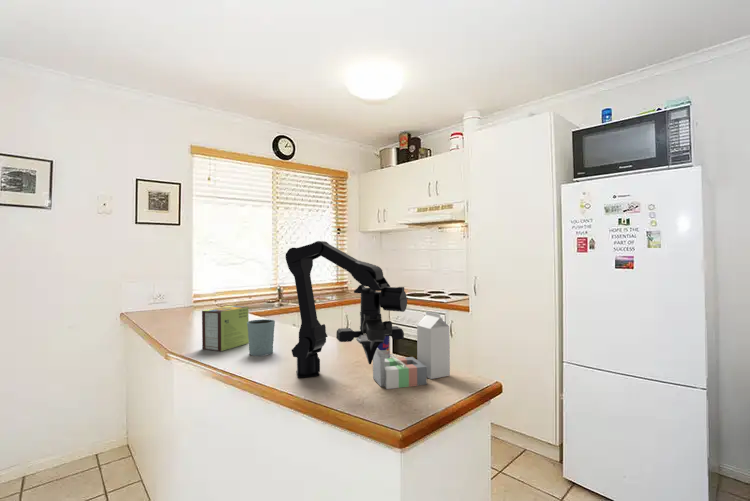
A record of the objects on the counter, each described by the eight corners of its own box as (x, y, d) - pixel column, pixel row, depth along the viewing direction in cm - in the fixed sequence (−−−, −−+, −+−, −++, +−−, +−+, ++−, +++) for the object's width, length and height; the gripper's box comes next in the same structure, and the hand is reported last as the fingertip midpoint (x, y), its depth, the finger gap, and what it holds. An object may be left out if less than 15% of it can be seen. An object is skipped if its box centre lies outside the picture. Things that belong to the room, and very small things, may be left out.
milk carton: (430, 379, 113) (430, 315, 114) (417, 373, 120) (416, 312, 120) (450, 376, 117) (449, 313, 117) (436, 369, 123) (435, 310, 123)
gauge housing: (386, 389, 106) (386, 370, 106) (375, 376, 117) (375, 359, 117) (427, 384, 109) (426, 366, 109) (412, 372, 120) (412, 356, 120)
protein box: (249, 343, 163) (249, 306, 163) (221, 351, 149) (220, 311, 149) (230, 341, 167) (230, 305, 167) (201, 349, 153) (201, 310, 153)
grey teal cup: (246, 357, 140) (245, 324, 141) (248, 350, 150) (248, 319, 150) (274, 355, 143) (274, 322, 143) (275, 348, 153) (275, 318, 153)
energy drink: (388, 367, 126) (388, 330, 126) (372, 366, 127) (372, 330, 127) (390, 362, 131) (390, 327, 132) (375, 362, 133) (375, 327, 133)
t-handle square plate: (383, 389, 105) (382, 356, 105) (371, 375, 117) (370, 345, 117) (414, 385, 108) (414, 353, 108) (399, 372, 120) (399, 343, 120)
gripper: (343, 314, 101) (342, 374, 100) (410, 312, 106) (410, 369, 105) (336, 308, 111) (335, 363, 111) (397, 307, 116) (397, 359, 116)
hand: (369, 364), depth 111 cm, fingers closed
